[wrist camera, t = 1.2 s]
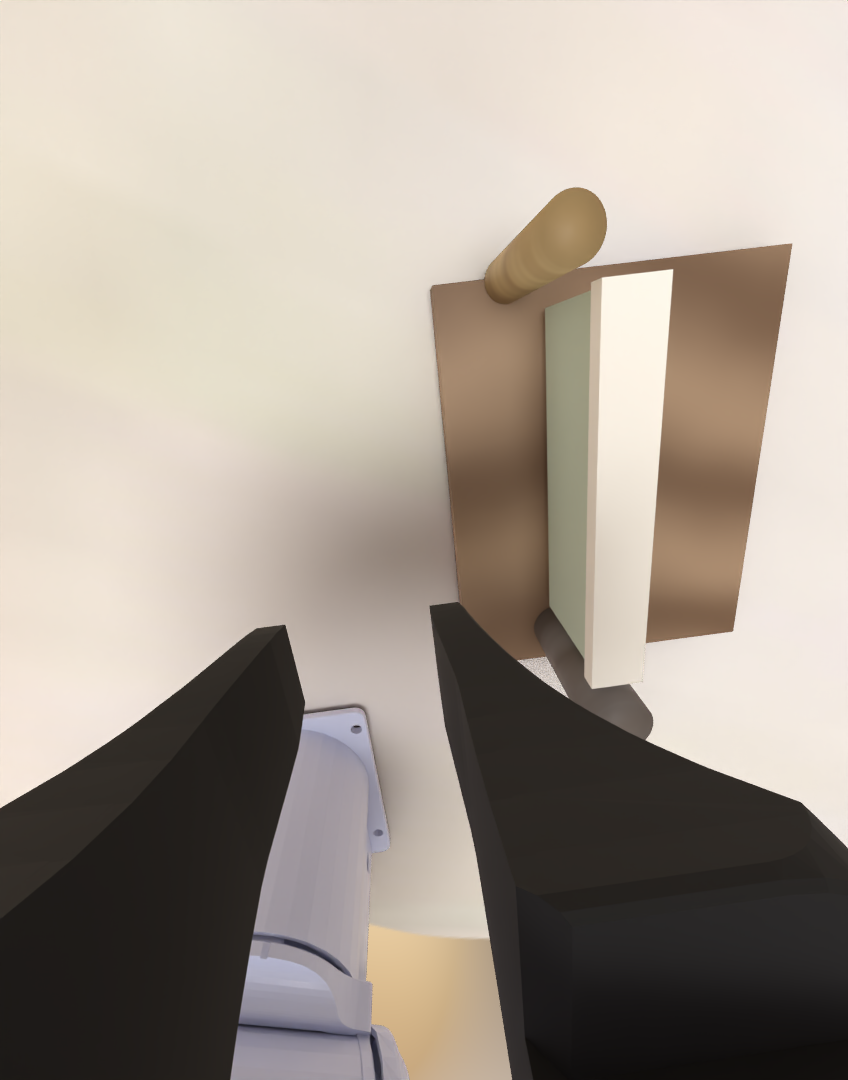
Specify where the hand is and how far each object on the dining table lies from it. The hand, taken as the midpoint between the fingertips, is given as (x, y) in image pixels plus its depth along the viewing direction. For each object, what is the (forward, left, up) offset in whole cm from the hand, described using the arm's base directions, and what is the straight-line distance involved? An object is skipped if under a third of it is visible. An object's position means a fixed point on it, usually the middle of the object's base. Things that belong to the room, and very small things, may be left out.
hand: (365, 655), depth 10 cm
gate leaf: (+1, -7, -8) cm, 11 cm away
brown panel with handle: (+1, -9, -9) cm, 13 cm away
